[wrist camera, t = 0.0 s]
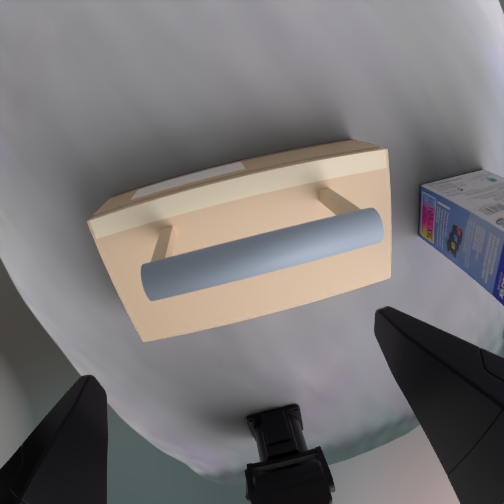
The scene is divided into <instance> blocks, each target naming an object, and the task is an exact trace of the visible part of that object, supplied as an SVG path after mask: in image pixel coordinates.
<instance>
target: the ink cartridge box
mask: <svg viewBox="0 0 504 504" xmlns="http://www.w3.org/2000/svg"><path fill="white" fill-rule="evenodd" d="M419 237H421V238H422V239H423V240H425V241H426V242H427V243H429V244H430V245H431V246H433V247H434V248H435V249H437V250H438V251H439V252H441V253H442V254H443V255H444V256H446V257H447V258H448V259H449V260H451V261H452V262H453V263H455V264H456V265H457V266H458V267H460V268H461V269H462V270H463V271H465V272H466V273H467V274H468V275H469V276H471V277H472V278H473V279H474V280H476V281H477V282H478V283H479V284H480V285H481V286H482V287H484V288H485V289H486V290H487V291H488V292H489V293H490V294H492V295H493V296H494V297H495V298H496V299H497V300H498V301H499V302H500V303H501V304H502V305H503V306H504V178H503V177H501V176H498V175H496V174H494V173H491V172H489V171H486V170H480V171H476V172H472V173H468V174H464V175H459V176H455V177H451V178H447V179H443V180H439V181H435V182H432V183H427V184H424V185H421V203H420V225H419Z"/></svg>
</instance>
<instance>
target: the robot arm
mask: <svg viewBox="0 0 504 504" xmlns="http://www.w3.org/2000/svg"><path fill="white" fill-rule="evenodd" d="M374 333H375V336H376V339H377V341H378V343H379V345H380V347H381V350H382V352H383V354H384V356H385V359H386V361H387V363H388V366H389V368H390V370H391V372H392V374H393V376H394V378H395V380H396V382H397V384H398V385H399V387H400V389H401V390H402V392H403V394H404V396H405V397H406V399H407V401H408V403H409V405H410V406H411V408H412V410H413V412H414V413H415V415H416V417H417V419H418V421H419V423H420V424H421V426H422V428H423V430H424V432H425V434H426V435H427V437H428V439H429V441H430V443H431V445H432V447H433V449H434V451H435V452H436V454H437V456H438V458H439V460H440V462H441V464H442V466H443V468H444V470H445V472H446V474H447V475H448V478H449V481H450V482H451V485H452V487H453V489H454V491H455V493H456V495H457V497H458V499H459V501H460V504H504V358H503V357H500V356H498V355H496V354H493V353H491V352H489V351H487V350H484V349H482V348H479V347H478V346H476V345H473V344H471V343H469V342H467V341H465V340H462V339H460V338H458V337H456V336H454V335H452V334H449V333H447V332H445V331H443V330H441V329H438V328H436V327H434V326H432V325H430V324H427V323H425V322H423V321H421V320H419V319H416V318H414V317H412V316H410V315H407V314H405V313H403V312H401V311H399V310H396V309H394V308H392V307H390V306H386V307H383V308H380V309H378V310H376V312H375V324H374ZM246 421H247V423H248V426H249V428H250V430H251V432H252V434H253V436H254V438H255V440H256V442H257V447H258V452H259V457H260V462H258V463H253V464H252V463H250V464H247V469H246V470H245V476H246V499H247V500H248V501H249V502H251V503H252V504H332V496H331V492H335V487H334V482H333V478H332V475H331V473H330V470H329V467H328V464H327V462H326V460H325V457H324V455H323V452H322V450H321V447H320V446H319V447H316V448H314V449H311V450H308V449H307V446H306V443H305V439H304V436H303V433H302V430H303V425H302V419H301V413H300V408H299V405H293V406H289V407H285V408H281V409H278V410H274V411H270V412H265V413H261V414H257V415H252V416H248V417H247V418H246ZM107 446H108V423H107V395H106V392H105V390H104V389H103V387H102V386H101V385H100V383H99V382H98V381H97V379H96V378H95V377H94V376H93V375H84V376H81V377H80V378H79V379H78V380H77V381H76V382H75V383H74V385H73V386H72V387H71V388H70V389H69V390H68V391H67V392H66V394H65V395H64V396H63V397H62V398H61V399H60V400H59V402H58V403H57V404H56V405H55V406H54V407H53V408H52V410H51V411H50V412H49V413H48V414H47V415H46V416H45V418H44V419H43V420H42V421H41V422H40V424H39V425H38V426H37V427H36V428H35V429H34V431H33V432H32V433H31V434H30V435H29V436H28V438H27V439H26V440H25V441H24V443H23V444H22V445H21V446H20V447H19V448H18V450H17V451H16V452H15V453H14V454H13V456H12V457H11V458H10V459H9V460H8V461H7V463H6V464H5V465H4V466H3V467H2V468H1V469H0V504H107V449H108V447H107Z"/></svg>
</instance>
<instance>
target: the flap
mask: <svg viewBox="0 0 504 504" xmlns="http://www.w3.org/2000/svg"><path fill="white" fill-rule="evenodd" d="M87 223H88V226H89V228H90V231H91V234H92V236H93V239H94V241H95V243H96V246H97V248H98V251H99V253H100V255H101V258H102V260H103V262H104V264H105V267H106V269H107V271H108V273H109V276H110V278H111V280H112V282H113V284H114V286H115V288H116V291H117V293H118V295H119V297H120V299H121V301H122V303H123V305H124V307H125V309H126V311H127V313H128V315H129V317H130V319H131V321H132V322H133V324H134V326H135V328H136V330H137V332H138V334H139V335H140V337H141V339H142V341H143V342H148V341H154V340H159V339H164V338H168V337H173V336H178V335H183V334H187V333H192V332H197V331H201V330H205V329H210V328H214V327H218V326H223V325H227V324H231V323H235V322H239V321H243V320H247V319H251V318H255V317H259V316H263V315H267V314H271V313H275V312H278V311H282V310H286V309H289V308H293V307H297V306H300V305H304V304H307V303H311V302H314V301H318V300H321V299H325V298H328V297H332V296H335V295H338V294H341V293H345V292H348V291H351V290H354V289H358V288H361V287H364V286H367V285H370V284H373V283H377V282H380V281H383V280H386V279H389V278H390V277H391V191H390V173H389V159H388V149H386V148H378V149H371V150H364V151H358V152H352V153H346V154H340V155H334V156H328V157H323V158H317V159H312V160H307V161H302V162H297V163H292V164H287V165H282V166H277V167H273V168H268V169H264V170H259V171H255V172H250V173H246V174H242V175H237V176H233V177H229V178H225V179H221V180H217V181H213V182H209V183H205V184H202V185H198V186H194V187H190V188H187V189H183V190H179V191H176V192H172V193H169V194H165V195H162V196H158V197H155V198H152V199H148V200H145V201H142V202H138V203H135V204H132V205H129V206H126V207H123V208H119V209H116V210H113V211H110V212H107V213H104V214H101V215H98V216H95V217H92V218H89V220H88V221H87Z"/></svg>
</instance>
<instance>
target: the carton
mask: <svg viewBox="0 0 504 504" xmlns="http://www.w3.org/2000/svg"><path fill="white" fill-rule="evenodd" d="M378 148H380V147H379V146H377V145H373V144H369V143H365V142H361V141H357V140H353V139H350V140H344V141H337V142H331V143H325V144H319V145H313V146H307V147H302V148H297V149H291V150H286V151H281V152H276V153H271V154H267V155H262V156H257V157H253V158H248V159H244V160H240V161H235V162H231V163H227V164H223V165H219V166H215V167H211V168H207V169H203V170H199V171H196V172H192V173H188V174H185V175H181V176H177V177H174V178H170V179H167V180H163V181H160V182H157V183H153V184H150V185H147V186H144V187H140V188H137V189H134V190H131V191H128V192H125V193H122V194H119V195H116V196H113V197H110V198H109V199H108V200H107V201H106V202H105V203H104V204H103V205H102V206H101V207H100V208H99V209H98V210H97V211H96V212H95V213H94V214H93V217H95V216H98V215H101V214H104V213H107V212H110V211H113V210H116V209H119V208H123V207H126V206H129V205H132V204H135V203H138V202H142V201H145V200H148V199H152V198H155V197H158V196H162V195H165V194H169V193H172V192H176V191H179V190H183V189H187V188H190V187H194V186H198V185H202V184H205V183H209V182H213V181H217V180H221V179H225V178H229V177H233V176H237V175H242V174H246V173H250V172H255V171H259V170H264V169H268V168H273V167H277V166H282V165H287V164H292V163H297V162H302V161H307V160H312V159H317V158H323V157H328V156H334V155H340V154H346V153H352V152H358V151H364V150H371V149H378Z"/></svg>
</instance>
